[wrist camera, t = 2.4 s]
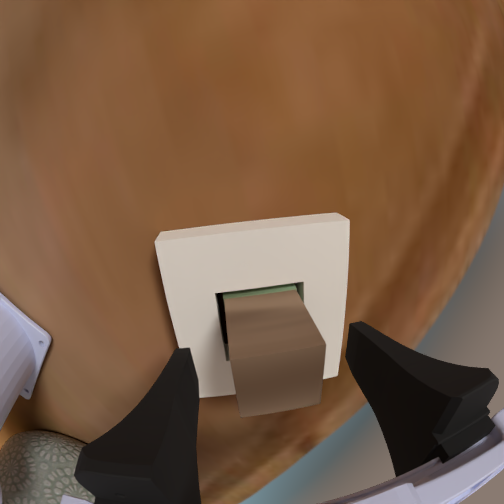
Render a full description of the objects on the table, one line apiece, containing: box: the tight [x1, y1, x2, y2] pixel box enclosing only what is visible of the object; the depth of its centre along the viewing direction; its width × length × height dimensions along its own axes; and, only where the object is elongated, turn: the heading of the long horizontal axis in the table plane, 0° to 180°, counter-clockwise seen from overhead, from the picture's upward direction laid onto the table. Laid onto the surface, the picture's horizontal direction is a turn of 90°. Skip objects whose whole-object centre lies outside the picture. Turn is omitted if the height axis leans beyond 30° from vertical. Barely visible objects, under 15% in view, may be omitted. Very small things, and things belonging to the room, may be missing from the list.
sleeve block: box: [155, 213, 350, 398], centre depth 15 cm, size 10×9×2 cm
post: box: [223, 283, 326, 418], centre depth 13 cm, size 4×4×6 cm
